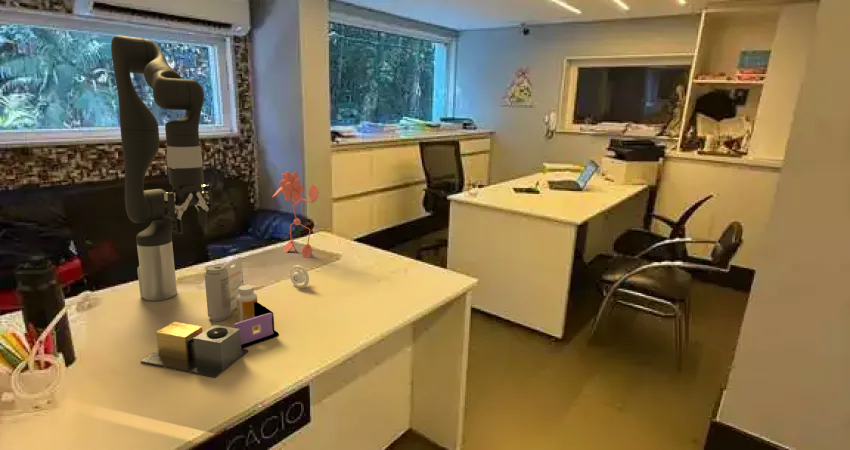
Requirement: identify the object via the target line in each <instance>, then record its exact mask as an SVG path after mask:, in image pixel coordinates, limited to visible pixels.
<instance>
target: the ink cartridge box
mask: <svg viewBox="0 0 850 450" xmlns="http://www.w3.org/2000/svg"><path fill="white" fill-rule="evenodd" d="M233 264H235V265H233ZM224 265H225V268H226V269H227V271H228V277H229V290H230V304H231V312H232V311H234V310H235V309H237V295H238V294H240V293H239V287H240V286H242V285H245V284H244V283H245V282H244V270H243V269H244V268H243V263H242V257H240V256H239V257H236V258H235V259H234V260H233V259H232V260H231V261H230V262H228V263H225V264H224Z"/></svg>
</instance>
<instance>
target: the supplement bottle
mask: <svg viewBox="0 0 850 450" xmlns="http://www.w3.org/2000/svg"><path fill="white" fill-rule="evenodd" d="M239 293H240V294H238V295H237V308H236V310H237V311H236V312H237V321H238V322H241V321H244V320H247V319H251V318H254V317H255V315H254V302H258V295H257V293H256V292H255V286H254V285H252V284H244V285H242V286H240V287H239Z"/></svg>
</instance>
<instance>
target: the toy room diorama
mask: <svg viewBox="0 0 850 450" xmlns="http://www.w3.org/2000/svg"><path fill="white" fill-rule="evenodd" d="M254 315H255V317H254V318H251V319H247V320H244V321H241V322H239V321H238V322H235V323H234V324H233V326H230V327H231V328H237V329H240V337H241V348H242V349H247V348H249V347H251V346H255V345H257V344H259V343H263V342H265V341H268V340H272V339H275V338H277V337H278V336H280V334H279V332H278V331H276V330H275V320H274V319H275V318H274V312H273V311H272V310H270V309H269V308H267V307H266V306H264V305H263V304H261V303H259V302H258V301H257V302H254Z"/></svg>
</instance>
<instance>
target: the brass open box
mask: <svg viewBox="0 0 850 450" xmlns="http://www.w3.org/2000/svg"><path fill="white" fill-rule="evenodd" d="M202 332H204V331H203V326H201V325H200V326H199V325H196V324H189V323H184V322H178V321H173V322H172V323H169V324H168V325H166V326H165V327H163V328H160V329H159V330H157V331H156V332H155V335H156V342H157V351H158V353H159V355H161V356H166V357H171V358H176V359H182V360H189V353H188V343H187V342H188V341H190V340H191V339H193V338H194V337H196V336H198V335H199V334H201V333H202Z"/></svg>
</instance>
